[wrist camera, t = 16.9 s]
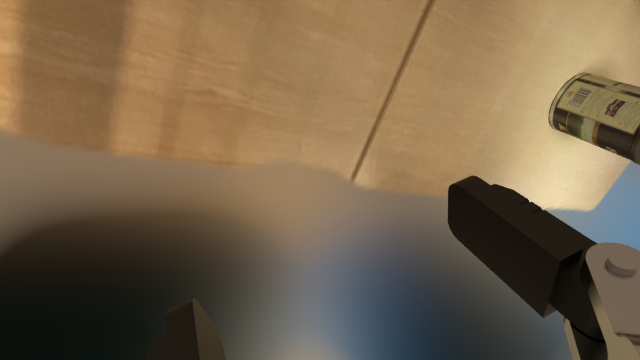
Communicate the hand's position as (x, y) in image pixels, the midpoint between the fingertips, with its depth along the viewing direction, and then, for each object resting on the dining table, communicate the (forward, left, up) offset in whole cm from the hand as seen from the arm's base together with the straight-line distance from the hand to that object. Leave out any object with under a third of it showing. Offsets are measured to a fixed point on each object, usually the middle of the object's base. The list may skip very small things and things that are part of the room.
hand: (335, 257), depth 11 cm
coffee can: (-56, +26, -32) cm, 69 cm away
